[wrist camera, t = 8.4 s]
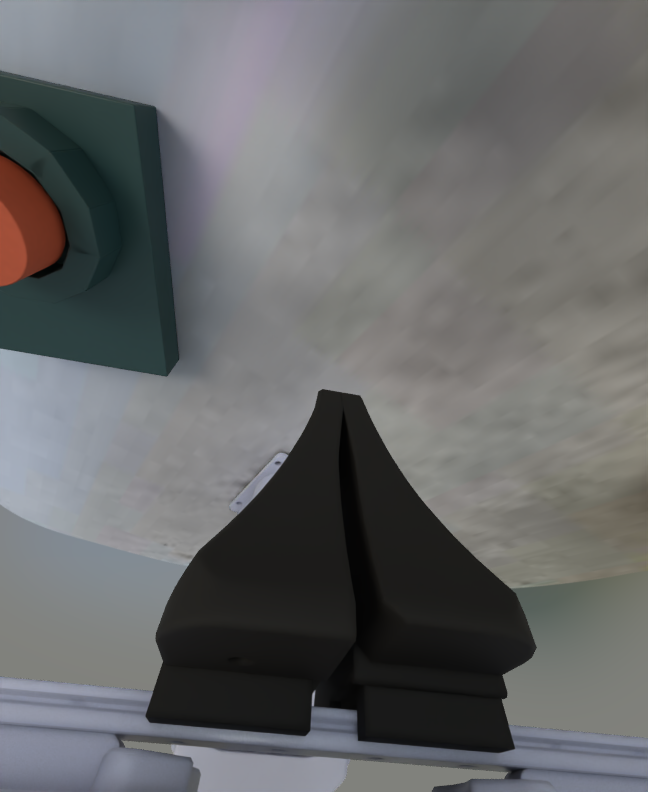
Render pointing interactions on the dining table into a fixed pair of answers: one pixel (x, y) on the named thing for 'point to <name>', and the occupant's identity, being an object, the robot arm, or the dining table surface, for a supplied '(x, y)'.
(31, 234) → the push button
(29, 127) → the green button base
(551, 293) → the dining table surface
